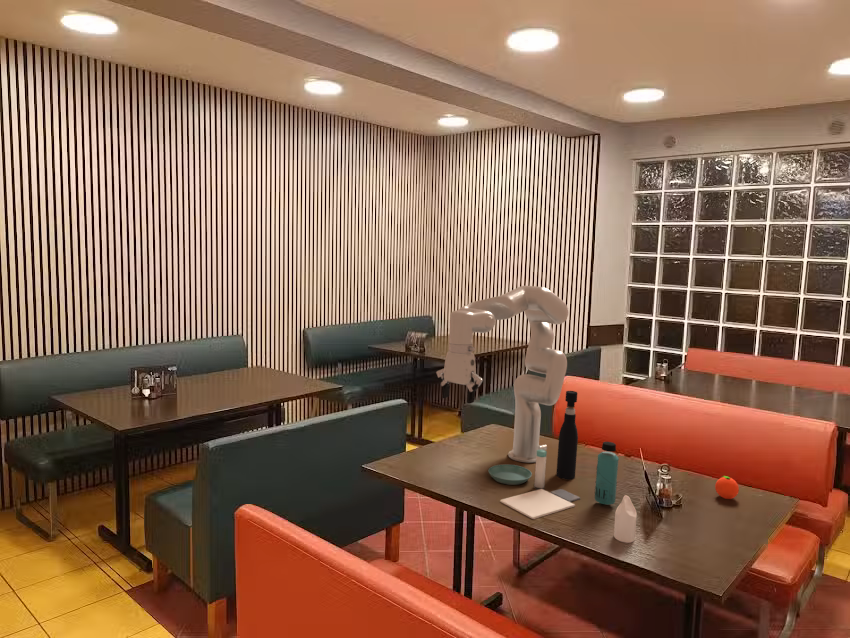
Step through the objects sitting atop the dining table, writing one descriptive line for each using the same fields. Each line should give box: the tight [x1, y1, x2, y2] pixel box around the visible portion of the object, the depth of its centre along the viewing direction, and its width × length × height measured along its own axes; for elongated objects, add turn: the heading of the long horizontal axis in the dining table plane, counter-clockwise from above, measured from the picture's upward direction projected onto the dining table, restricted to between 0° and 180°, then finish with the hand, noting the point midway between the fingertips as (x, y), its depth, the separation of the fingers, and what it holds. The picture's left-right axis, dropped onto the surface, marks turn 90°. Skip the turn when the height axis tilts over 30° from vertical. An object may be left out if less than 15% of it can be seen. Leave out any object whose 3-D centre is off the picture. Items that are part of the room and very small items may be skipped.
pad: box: [499, 489, 576, 520], centre depth 187 cm, size 18×14×1 cm
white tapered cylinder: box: [613, 494, 638, 544], centre depth 166 cm, size 6×12×6 cm
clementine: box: [714, 475, 740, 500], centre depth 198 cm, size 8×7×7 cm
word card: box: [550, 488, 581, 503], centre depth 194 cm, size 5×8×1 cm, turn 35°
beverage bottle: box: [593, 441, 620, 506], centre depth 187 cm, size 6×7×20 cm
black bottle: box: [556, 390, 579, 481], centre depth 210 cm, size 6×6×30 cm
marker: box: [533, 450, 548, 490], centre depth 199 cm, size 3×3×12 cm
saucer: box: [488, 463, 533, 486], centre depth 207 cm, size 15×15×3 cm
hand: (457, 400), depth 199 cm, fingers open, 9 cm apart
